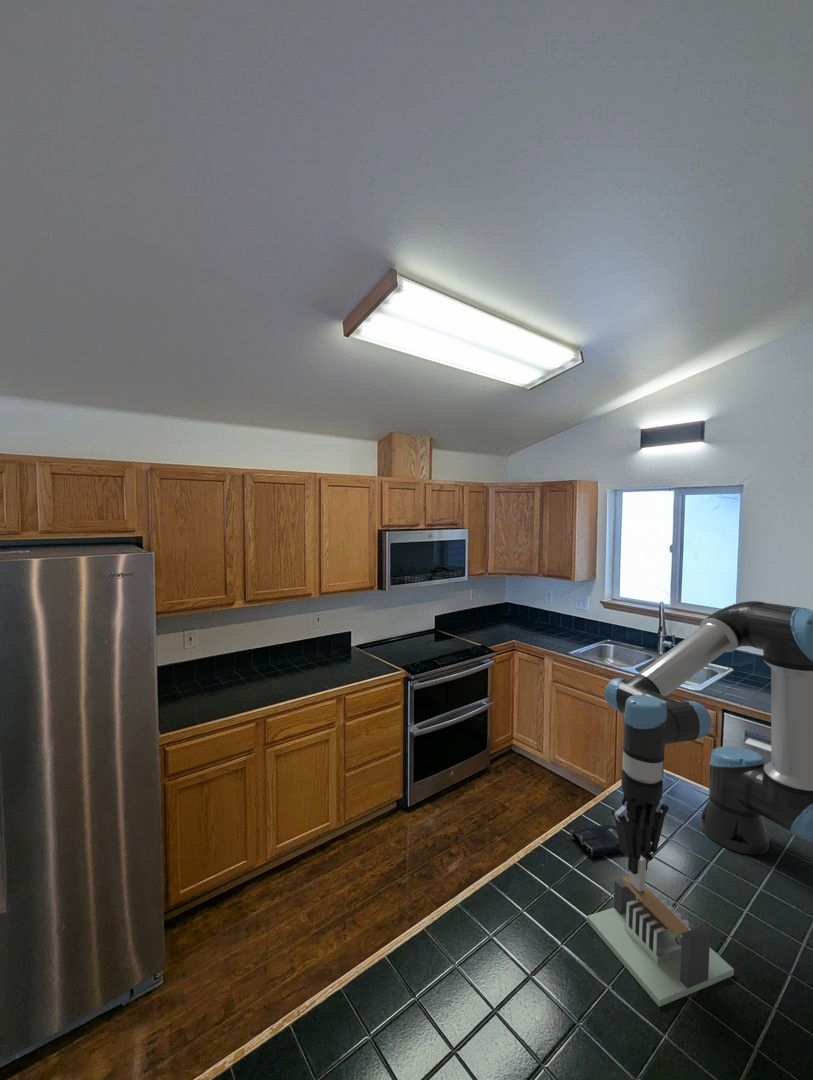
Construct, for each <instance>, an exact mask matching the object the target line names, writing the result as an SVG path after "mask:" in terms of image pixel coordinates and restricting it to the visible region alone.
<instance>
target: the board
mask: <svg viewBox="0 0 813 1080" xmlns="http://www.w3.org/2000/svg"><path fill="white" fill-rule="evenodd" d="M613 888H614V889H613V907H611V908H608V909H604V910H602V911H599V912H596V913H593V914H589V915H587V916H586V923H587V924H588V925H589V926H590V927H591V929H593V930H594V932H595V933H596V934H597V935H598V936H599V938H600V939H601V940H602V941H603V942H604V943H605V945H606V946H607V947H608V948H609V949H610V950H611V952H612V953H613V954H614V955H615V957H616V958H617V959H618V961H620V963H621V964H622V965H623V966H624V967H625V969H627V971H628V972H629V973H630V975H632V977H633V978H634V979H635V980H636V982H637V983H638V984H639V985H640V986H641V987H642V989H643V990H644V991H645V993H647V995H649V997H650V998H651V999H652V1001H654V1002H655V1005H657V1006H658V1007H659V1008H660V1007H662V1006H665V1005H667V1004H670V1003H672V1002H675V1001H677V1000H679V999H682V998H683V997H686V996H688V995H690V994H693V993H696V992H697V991H700V990H702V989H705V988H707V987H710V986H712V985H715V984H717V983H719V982H721V981H724V980H725V979H729V978H731V977H733V976H734V973H735V970H734V968H733V967H732V966H731V965H730V964H729V963H728V962H727V961H726V960H725V959H723V958H722V956H720V955H719V954H718V953H717V952H716V951H714V949H712V948H711V947H710V946H711V945H710V944H711V932H710V931H709V930H708V929H706V927H705V926H703V925H701V926H698V927H695V928H692V929H691V928H690V927H689V930H690V931H687V932H684V933H682V944H681V956H680V957H678V958H675V959H673V960H670V961H667V962H665V963H662V964H660V965H657V964H656V963H655V962H654V961H653V960H652V959H651V958H650V957H649V956H648V955H647V954H646V952H645V951H644V950H643V949H642V948H641V947H640V946H639V945H638V944H637V943H636V942H635V941H634V939H633V938H632V937H631V936H630V935H629V934H628V933H627V932H626V931H625V930H624V923H625V922H626V906H627V902H630V901H633V900H636V899H637V896H636V895H635V894H634V893H633V892H632V891H631V890H630V889H629V888H628V887H627V886H626V885H625V884H624V883H623V882H622V878H619V879H616V880H614V887H613Z"/></svg>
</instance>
